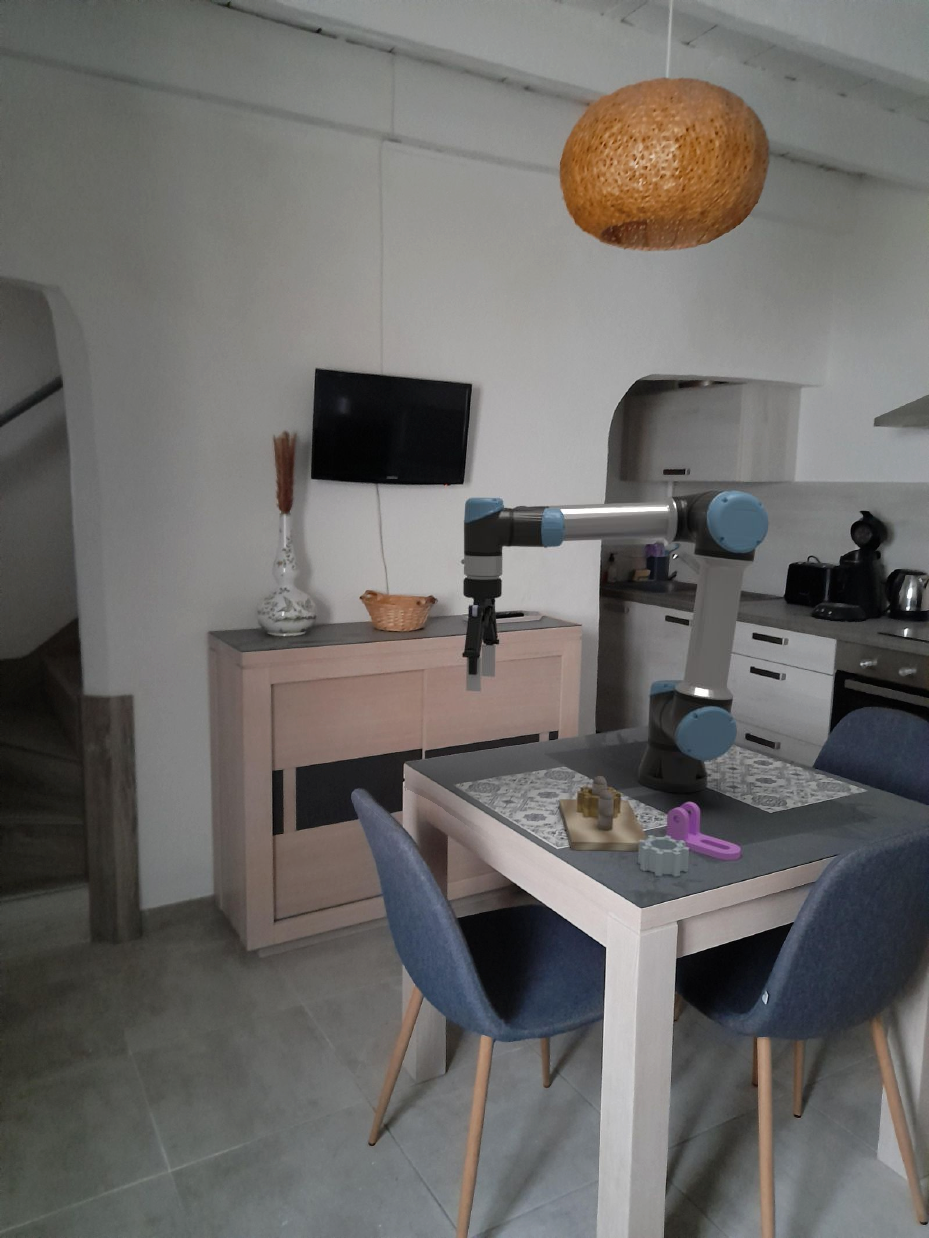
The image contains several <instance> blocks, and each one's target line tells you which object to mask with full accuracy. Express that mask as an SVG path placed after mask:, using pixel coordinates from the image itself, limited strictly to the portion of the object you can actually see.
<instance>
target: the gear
mask: <svg viewBox="0 0 929 1238" xmlns="http://www.w3.org/2000/svg"><path fill="white" fill-rule="evenodd" d="M646 837H647V840H641V839H640V840H639V851H637V853H638V854H637V855H638V857H637V864H638V865H639V864H640V870H641V871H642V872H646V871H649V872H652V873H654V876H656V877H662V876H663V875H671V876H673V877H675V878H676V877H681V872H686V873H687V872H688V871H689V858H690V857H689V855H690V853H689V852H690V850H689V847H686V842H685V841H683V840H680V841H677V840H674V839H671V836H666V834H665V835H664V836H663V837H661V836H654V835H646Z"/></svg>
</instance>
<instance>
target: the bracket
mask: <svg viewBox="0 0 929 1238" xmlns="http://www.w3.org/2000/svg"><path fill="white" fill-rule="evenodd" d="M689 812H690V813H689ZM700 828H701V809H700V807H699V806H698V805H697V804H696V803H695V802H693V801H687V802H684V803H683V804H681V805H680V806H679V807H674V808H673V809H671V810H669V811H668V813H667V816H666V833H665V835H666V836H671V839H674V840H677V841H680V840H683V841H685V842H686V847H689V851H692V852H696V853H698V854H702V855H706V856H708V857H710V858H711V857H712V858H713V859H714V858H715V859H717V860H722V861H735V860H738V859H740V858H741V854H742V853H741V850H742V849H741V847H740V846H739V845H737V844H735V843H733V842H729V841H727V840H723V839H720V838H716V837H713V836H710V835H706V834H703V833H701V830H700Z"/></svg>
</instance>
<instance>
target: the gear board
mask: <svg viewBox="0 0 929 1238" xmlns="http://www.w3.org/2000/svg"><path fill="white" fill-rule="evenodd" d="M591 785H592V786H591V787H586V786H582V787H580V790H578V791H577V794H576V795H577V798H576V799H572V798H571V799H570V798H569V799H568V798H566V799H565V798H563V799H562V798H561V799H560V798H559V801H558V802H559V803H558V807H559V810H560V815H561V817H562V818H561V819H562V822H563V823H564V828H565V831H566V835H567V838H568V841H569V845H570V848H571V850H572V851H574V850H575V851H622V852H623V851H624V852H625V851H627V852H629V851H630V852H638V851H639V840H640V839H641V840H647V835H646V834H645V831H644V829H643V828H642V825H641V823H640V822H639V820H638V818H637V816H636V814H635V812H634V809H633V808H632V805H631V804H630V802H629V800H625V799H624V800H623V799H622V793H621V792H620V791H615V788H614V787H610V786H609V787H608V783H607V779H606V778H605V777H604V776H602V775H598V776H596V777H594V778H593V780H592V784H591Z"/></svg>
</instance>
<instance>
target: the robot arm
mask: <svg viewBox="0 0 929 1238" xmlns="http://www.w3.org/2000/svg"><path fill="white" fill-rule="evenodd" d="M769 522H770V521H769V516H768V512H767V509H766V507H765V506H764V505H763V504H762V502H761V501H760V500H759V499H758V498H757V497H755V496H754V495H752V494H749V493H746V492H744V491H738V490H709V491H704V492H699V493H694V494H687V495H677V496H667V497H665V499H664V500H663V501H647V502H622V503H621V502H620V503H619V502H617V503H593V504H589V503H588V504H565V505H562V504H561V505H560V504H559V505H539V506H538V505H537V506H536V505H535V506H534V505H533V506H526V505H519V506H515V507H513V508H511V507H505V505H504V501H503V499H502V498H500V497H469V498H468V499H467V500H466V501H465V504H464V520H463V556H464V557H463V559H461V560H460V563H461V564H462V565H463V574H464V575H465V576H466V577H464V578H463V582H462V583H463V586H462V587H463V589H462V592H463V597H465V598H467V599H468V598H469V599H473V602H472V604H469V605H468V607H467V609H468V613H467V614H468V617H467V625H466V633H465V634H466V635H465V642H464V649H463V652H462V654H461V656H462V658H466V677H465V679H466V680H465V681H466V684H465V685H466V687H465V689H466V691H467V692H469V691H470V692H481V691H482V677H489V678H492V677H493V678H494V677H495V676H496V645H500V639H499V637H498V628H497V616H496V599H498V598H500V597H502V595H503V594H502V593H503V591H502V589H503V587H502V585H503V583H502V581H503V579H501V577H500V576H502V575H503V548H504V547H505V548H506V547H507V548H509V547H510V548H511V547H517V548H518V547H523V548H524V547H525V548H545V549H547V548H554V547H555V548H557V547H560V546H561V545H562V544H563V542H570V541H571V542H572V541H573V542H574V541H578V542H579V541H599V540H600V541H602V540H603V541H604V540H605V541H606V540H629V539H633V540H634V539H656V538H657V539H659V538H660V539H661V538H663V539H664V540H665V541H666V542H668V543H674V542H675V543H689V544H694V552H693V557H694V558H695V559H696V561H697V562H698V563H699V572H698V579H697V587H696V592H695V599H694V600H695V601H694V607H693V614H692V620H691V626H690V635H689V642H688V648H687V656H686V662H685V669H684V677H683V680H682V679H681V680H679V679H678V680H675V679H673V680H672V679H669V680H668V679H667V680H664V679H663V680H656V681H654V682H653V683H651V685H650V692H649V695H648V698H649V702H648V706H649V707H648V708H649V709H648V725H647V727H648V729H647V746H646V749H645V751H644V754H643V756H642V759H641V761H640V764H639V767H638V770H637V771H638V772H637V780H638V782H639V783H640V784H642V785H643V786H645V787H647V788H650V789H653V790H656V791H661V792H669V793H675V794H676V793H679V794H681V793H682V794H686V793H695V792H699V791H703V790H705V789H706V788H707V786H708V780H709V779H708V776H709V775H708V772H707V771H708V770H707V769H706V763H705V761H713V760H715V759H716V760H717V759H718V758H721V757H722V756H723V755H725V754H726V753H728V751H730V749H731V748H732V747H733V745H734V743H735V741H736V739H737V735H738V734H737V731H738V729H737V728H738V727H737V724H736V723H737V722H736V721H735V719H734V716H733V715H732V714H731V713H732V705H733V701H734V695H733V694H732V692H731V691H730V689H729V688H728V681H729V673H730V666H731V661H732V660H731V659H732V653H733V648H734V647H733V646H734V639H735V634H736V626H737V621H738V615H739V608H740V607H739V605H740V599H741V594H742V587H743V581H744V579H743V578H744V574H745V570H746V569H747V568H748V567H750V566H751V565H752V564H753V563H754V561H755V556H756V555H755V554H756V549H757V547H759V546H760V545H761V544H762V542H764V540H765V538H766V537H767V534H768V530H769Z"/></svg>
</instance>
